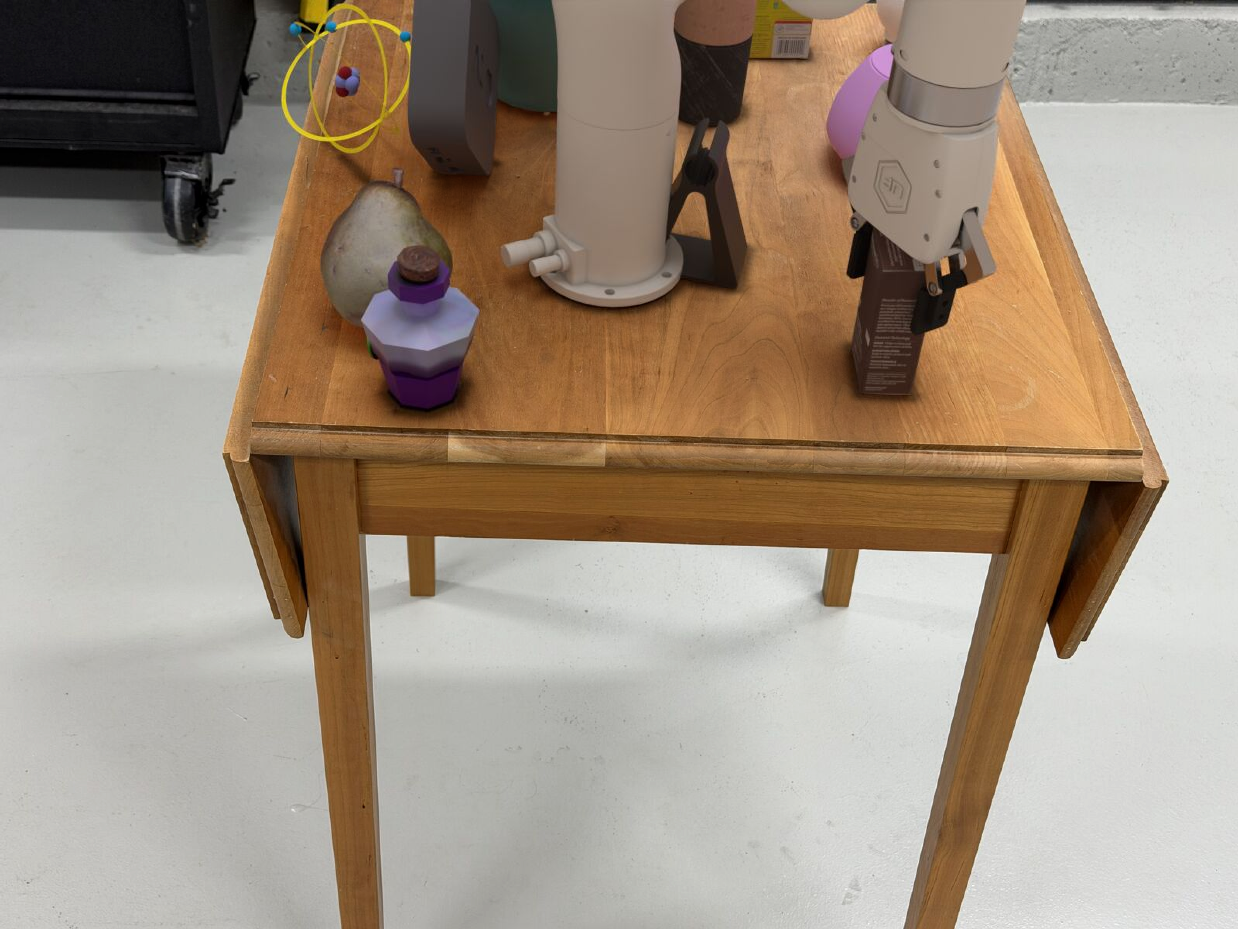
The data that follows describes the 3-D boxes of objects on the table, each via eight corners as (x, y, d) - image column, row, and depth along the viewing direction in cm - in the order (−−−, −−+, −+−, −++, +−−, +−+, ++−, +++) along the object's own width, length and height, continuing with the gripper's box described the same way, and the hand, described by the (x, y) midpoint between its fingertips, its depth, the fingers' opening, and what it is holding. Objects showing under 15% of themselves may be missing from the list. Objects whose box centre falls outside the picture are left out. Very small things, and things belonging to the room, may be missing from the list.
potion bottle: (362, 359, 109) (351, 226, 101) (472, 349, 111) (470, 218, 103) (372, 430, 103) (361, 295, 95) (489, 419, 104) (488, 285, 96)
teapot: (984, 237, 126) (1019, 111, 117) (827, 225, 126) (850, 99, 117) (956, 123, 140) (985, 5, 132) (815, 113, 140) (835, -6, 132)
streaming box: (446, 28, 131) (501, 29, 131) (437, 180, 130) (492, 182, 130) (411, -36, 117) (473, -35, 116) (401, 135, 116) (462, 136, 115)
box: (845, 347, 113) (872, 221, 105) (901, 349, 113) (931, 224, 105) (854, 396, 109) (882, 268, 101) (912, 398, 109) (944, 271, 101)
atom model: (272, -40, 126) (251, 103, 134) (292, 22, 115) (267, 175, 122) (420, -11, 132) (391, 125, 139) (452, 51, 121) (419, 195, 128)
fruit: (458, 283, 116) (454, 156, 108) (448, 354, 110) (443, 225, 101) (334, 277, 116) (320, 150, 108) (316, 349, 109) (300, 218, 101)
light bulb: (931, 73, 148) (954, -28, 140) (867, 68, 148) (886, -33, 141) (926, 43, 153) (947, -56, 145) (864, 38, 153) (882, -61, 145)
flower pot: (654, 60, 146) (667, -104, 135) (611, 145, 134) (621, -27, 122) (489, 32, 149) (487, -131, 137) (431, 113, 136) (424, -59, 125)
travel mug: (745, 130, 137) (770, -72, 124) (667, 125, 137) (684, -77, 123) (741, 91, 143) (765, -106, 129) (666, 87, 143) (683, -111, 129)
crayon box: (803, 46, 151) (820, -60, 143) (808, 59, 149) (825, -48, 141) (735, 45, 150) (748, -62, 142) (739, 58, 148) (752, -49, 140)
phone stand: (747, 250, 122) (768, 128, 114) (736, 289, 118) (758, 165, 110) (646, 231, 123) (660, 108, 115) (632, 269, 119) (646, 144, 111)
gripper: (823, 42, 98) (788, 253, 110) (988, 161, 87) (929, 380, 99) (907, 22, 101) (864, 229, 113) (1076, 135, 90) (1009, 351, 102)
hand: (895, 298), depth 106 cm, fingers closed on box, 7 cm apart
